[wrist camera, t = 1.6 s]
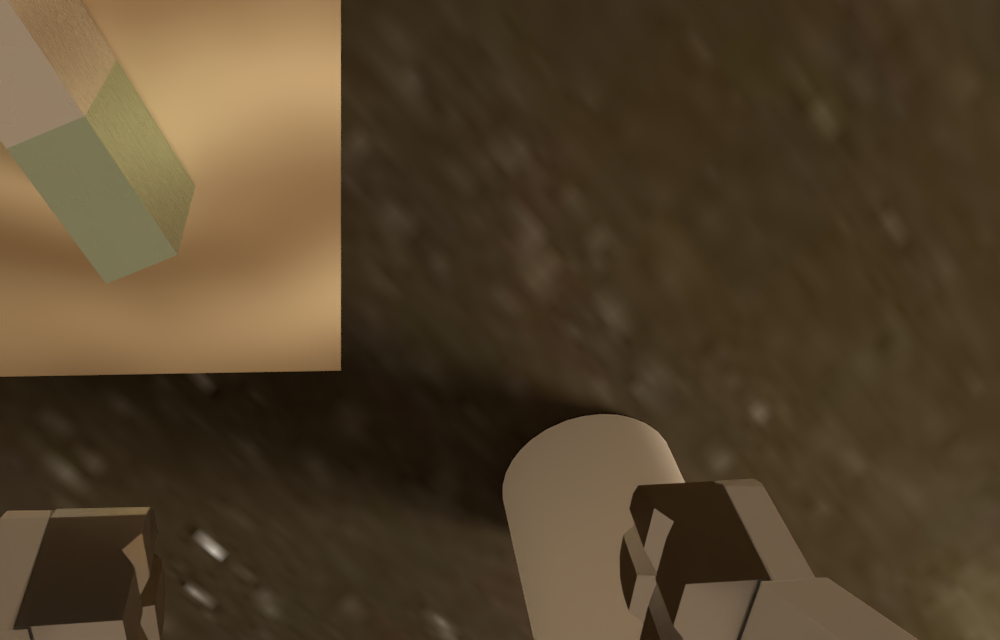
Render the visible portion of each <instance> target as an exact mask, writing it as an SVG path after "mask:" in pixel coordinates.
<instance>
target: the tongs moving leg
mask: <svg viewBox="0 0 1000 640" xmlns="http://www.w3.org/2000/svg"><path fill="white" fill-rule="evenodd" d="M0 141H1V142H2V144H3V145H4V146H5V148H6V149H7V150H8V152H9V153H10V154H11V156H12V157H13V158H14V160H15V161H16V163H17V164H18V165H19V167H20V168H21V169H22V171H23V172H24V173H25V175H26V176H27V177H28V179H29V180H30V181H31V183H32V184H33V186H34V187H35V188H36V190H37V191H38V192H39V194H40V195H41V196H42V198H43V199H44V200H45V202H46V203H47V205H48V206H49V207H50V209H51V210H52V211H53V213H54V214H55V215H56V217H57V218H58V219H59V221H60V222H61V224H62V225H63V226H64V228H65V229H66V230H67V232H68V233H69V234H70V236H71V237H72V238H73V240H74V241H75V243H76V244H77V245H78V247H79V248H80V249H81V251H82V252H83V253H84V255H85V256H86V257H87V259H88V260H89V261H90V263H91V264H92V266H93V267H94V268H95V270H96V271H97V272H98V274H99V275H100V276H101V278H102V279H103V280H104V282H105V283H106V284H107V283H109V282H112V281H114V280H117V279H119V278H122V277H124V276H127V275H129V274H132V273H134V272H137V271H139V270H142V269H144V268H146V267H149V266H151V265H154V264H156V263H159V262H161V261H164V260H166V259H169V258H171V257H174V256H176V255H178V251H179V247H180V243H181V240H182V236H183V232H184V228H185V224H186V220H187V217H188V213H189V209H190V205H191V201H192V197H193V193H194V190H195V185H194V183H193V182H192V180H191V179H190V177H189V175H188V174H187V172H186V171H185V169H184V167H183V166H182V164H181V162H180V161H179V159H178V158H177V156H176V154H175V153H174V151H173V150H172V148H171V146H170V145H169V143H168V142H167V140H166V138H165V137H164V135H163V133H162V132H161V130H160V129H159V127H158V125H157V124H156V122H155V121H154V119H153V117H152V116H151V114H150V112H149V111H148V109H147V108H146V106H145V104H144V103H143V101H142V100H141V98H140V96H139V95H138V93H137V92H136V90H135V88H134V87H133V85H132V83H131V82H130V80H129V79H128V77H127V75H126V74H125V72H124V71H123V69H122V67H121V66H120V64H119V62H118V61H117V59H116V58H115V56H114V54H113V53H112V51H111V50H110V48H109V46H108V45H107V43H106V42H105V40H104V38H103V37H102V35H101V33H100V32H99V30H98V29H97V27H96V25H95V24H94V22H93V21H92V19H91V17H90V16H89V14H88V12H87V11H86V9H85V8H84V6H83V4H82V3H81V1H80V0H0Z"/></svg>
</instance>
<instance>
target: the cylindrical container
mask: <svg viewBox="0 0 1000 640" xmlns="http://www.w3.org/2000/svg"><path fill="white" fill-rule="evenodd" d="M671 483H685V482H684V480H683V477H682V475H681V473H680V471H679V469H678V467H677V464H676V462H675V460H674V458H673V456H672V454H671V451H670V449H669V447H668V445H667V443H666V441H665V440H664V439H663V437H662V436H661V435H660V434H659V433H658V432H657V431H656V430H655V429H653V428H652V427H650V426H649V425H647V424H646V423H644V422H641V421H639V420H636V419H634V418H630V417H626V416H621V415H612V414H597V415H588V416H581V417H578V418H574V419H570V420H567V421H564V422H562V423H559V424H557V425H555V426H553V427H550V428H548V429H546V430H545V431H543V432H542V433H540V434H539V435H537V436H536V437H534V438H533V439H532V440H530V441H529V442H528V443H527V444H526V445H525V446H524V447H523V448H522V449H521V450H520V451H519V452H518V454H517V455H516V456H515V458H514V459H513V460H512V462H511V464H510V466H509V468H508V470H507V472H506V474H505V478H504V482H503V502H504V507H505V511H506V516H507V520H508V525H509V529H510V534H511V538H512V543H513V547H514V552H515V556H516V561H517V565H518V570H519V574H520V579H521V583H522V588H523V592H524V597H525V601H526V606H527V610H528V615H529V619H530V624H531V628H532V633H533V637H534V640H640V636H641V632H642V628H643V623H642V622H641V621H640V620H638V619H637V618H636V617H635V616H633V615H632V614H631V613H630V612H629V611H628V608H627V605H626V602H625V598H624V595H623V591H622V585H621V580H620V550H621V545H622V539H623V535H624V534H625V533H626V532H627V531H628V530H629V529H630V528H632V527H633V526H634V525H635V523H634V520H633V518H632V515H631V512H630V509H629V508H630V504H631V500H632V496H633V493H634V491H635V490H636V488H637V487H638V485H652V484H671Z"/></svg>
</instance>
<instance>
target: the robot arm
mask: <svg viewBox="0 0 1000 640" xmlns="http://www.w3.org/2000/svg"><path fill="white" fill-rule="evenodd" d="M629 509H630V512H631V515H632V518H633V520H634V523H635V525H634V526H633V527H632V528H630V529H629V530H628V531H627V532H626V533H625V534H624V535H623V539H622V545H621V550H620V580H621V585H622V591H623V595H624V598H625V602H626V605H627V608H628V611H629V612H630V613H631V614H632V615H633V616H635V617H636V618H637V619H638V620H640V621H641V622H642V623H643V628H642V632H641V636H640V640H918V639H916V638H915V637H914V636H912V635H911V634H909V633H908V632H906V631H905V630H903V629H902V628H900V627H899V626H897V625H896V624H894V623H893V622H892V621H890V620H889V619H887V618H886V617H884V616H883V615H881V614H880V613H878V612H877V611H875V610H874V609H872V608H871V607H870V606H868V605H867V604H865V603H864V602H862V601H861V600H859V599H858V598H856V597H855V596H853V595H852V594H850V593H849V592H848V591H846V590H845V589H843V588H842V587H840V586H839V585H837V584H836V583H834V582H833V581H831V580H830V579H828V578H815V576H814V574H813V572H812V571H811V569H810V567H809V565H808V564H807V562H806V560H805V558H804V557H803V555H802V553H801V551H800V550H799V548H798V546H797V544H796V543H795V541H794V539H793V537H792V536H791V534H790V532H789V530H788V529H787V527H786V525H785V523H784V522H783V520H782V518H781V516H780V515H779V513H778V511H777V509H776V508H775V506H774V504H773V502H772V501H771V499H770V497H769V495H768V494H767V492H766V490H765V488H764V487H763V485H762V484H761V483H760V482H759V481H757V480H756V479H741V480H723V481H716V482H712V481H709V482H690V483H671V484H652V485H638V487H637V488H636V490H635V491H634V493H633V496H632V500H631V504H630V508H629ZM157 535H158V528H157V523H156V517H155V512H154V510H153V509H152V508H151V507H130V508H82V509H56V510H35V511H7V512H6V513H5V514H4V515H3V516H2V517H1V518H0V640H161V636H162V630H163V623H164V611H165V575H164V567H163V560H162V559H161V558H160V557H158V556H157V555H156V554H155V553H154V551H155V546H156V541H157Z"/></svg>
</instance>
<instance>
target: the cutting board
mask: <svg viewBox="0 0 1000 640" xmlns="http://www.w3.org/2000/svg"><path fill="white" fill-rule="evenodd" d="M80 1H81V3H82V4H83V6H84V8H85V9H86V11H87V12H88V14H89V16H90V17H91V19H92V21H93V22H94V24H95V25H96V27H97V29H98V30H99V32H100V33H101V35H102V37H103V38H104V40H105V42H106V43H107V45H108V46H109V48H110V50H111V51H112V53H113V54H114V56H115V58H116V59H117V61H118V62H119V64H120V66H121V67H122V69H123V71H124V72H125V74H126V75H127V77H128V79H129V80H130V82H131V83H132V85H133V87H134V88H135V90H136V92H137V93H138V95H139V96H140V98H141V100H142V101H143V103H144V104H145V106H146V108H147V109H148V111H149V112H150V114H151V116H152V117H153V119H154V121H155V122H156V124H157V125H158V127H159V129H160V130H161V132H162V133H163V135H164V137H165V138H166V140H167V142H168V143H169V145H170V146H171V148H172V150H173V151H174V153H175V154H176V156H177V158H178V159H179V161H180V162H181V164H182V166H183V167H184V169H185V171H186V172H187V174H188V175H189V177H190V179H191V180H192V182H193V183H194V185H195V190H194V193H193V197H192V201H191V205H190V209H189V213H188V217H187V220H186V224H185V228H184V232H183V236H182V240H181V243H180V247H179V251H178V255H176V256H174V257H171V258H169V259H166V260H164V261H161V262H159V263H156V264H154V265H151V266H149V267H146V268H144V269H142V270H139V271H137V272H134V273H132V274H129V275H127V276H124V277H122V278H119V279H117V280H114V281H112V282H109V283H107V284H106V283H105V282H104V280H103V279H102V278H101V276H100V275H99V274H98V272H97V271H96V270H95V268H94V267H93V266H92V264H91V263H90V261H89V260H88V259H87V257H86V256H85V255H84V253H83V252H82V251H81V249H80V248H79V247H78V245H77V244H76V243H75V241H74V240H73V238H72V237H71V236H70V234H69V233H68V232H67V230H66V229H65V228H64V226H63V225H62V224H61V222H60V221H59V219H58V218H57V217H56V215H55V214H54V213H53V211H52V210H51V209H50V207H49V206H48V205H47V203H46V202H45V200H44V199H43V198H42V196H41V195H40V194H39V192H38V191H37V190H36V188H35V187H34V186H33V184H32V183H31V181H30V180H29V179H28V177H27V176H26V175H25V173H24V172H23V171H22V169H21V168H20V167H19V165H18V164H17V163H16V161H15V160H14V158H13V157H12V156H11V154H10V153H9V152H8V150H7V149H6V148H5V146H4V145H3V144H2V142H1V141H0V377H9V376H65V375H122V374H178V373H235V372H291V371H341V0H80Z"/></svg>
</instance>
